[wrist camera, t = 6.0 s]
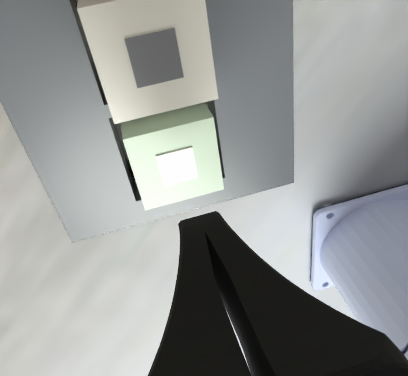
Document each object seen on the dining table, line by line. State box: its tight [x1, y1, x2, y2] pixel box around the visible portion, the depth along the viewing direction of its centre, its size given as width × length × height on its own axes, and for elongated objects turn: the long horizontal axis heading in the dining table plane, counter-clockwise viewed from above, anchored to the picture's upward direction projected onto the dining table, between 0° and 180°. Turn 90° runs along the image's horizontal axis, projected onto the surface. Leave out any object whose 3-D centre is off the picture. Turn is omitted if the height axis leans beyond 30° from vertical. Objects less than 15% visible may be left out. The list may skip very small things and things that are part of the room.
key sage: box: [120, 102, 224, 210], centre depth 18 cm, size 4×4×3 cm
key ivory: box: [77, 0, 218, 124], centre depth 14 cm, size 4×4×3 cm
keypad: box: [0, 0, 294, 243], centre depth 15 cm, size 12×18×2 cm, turn 10°
